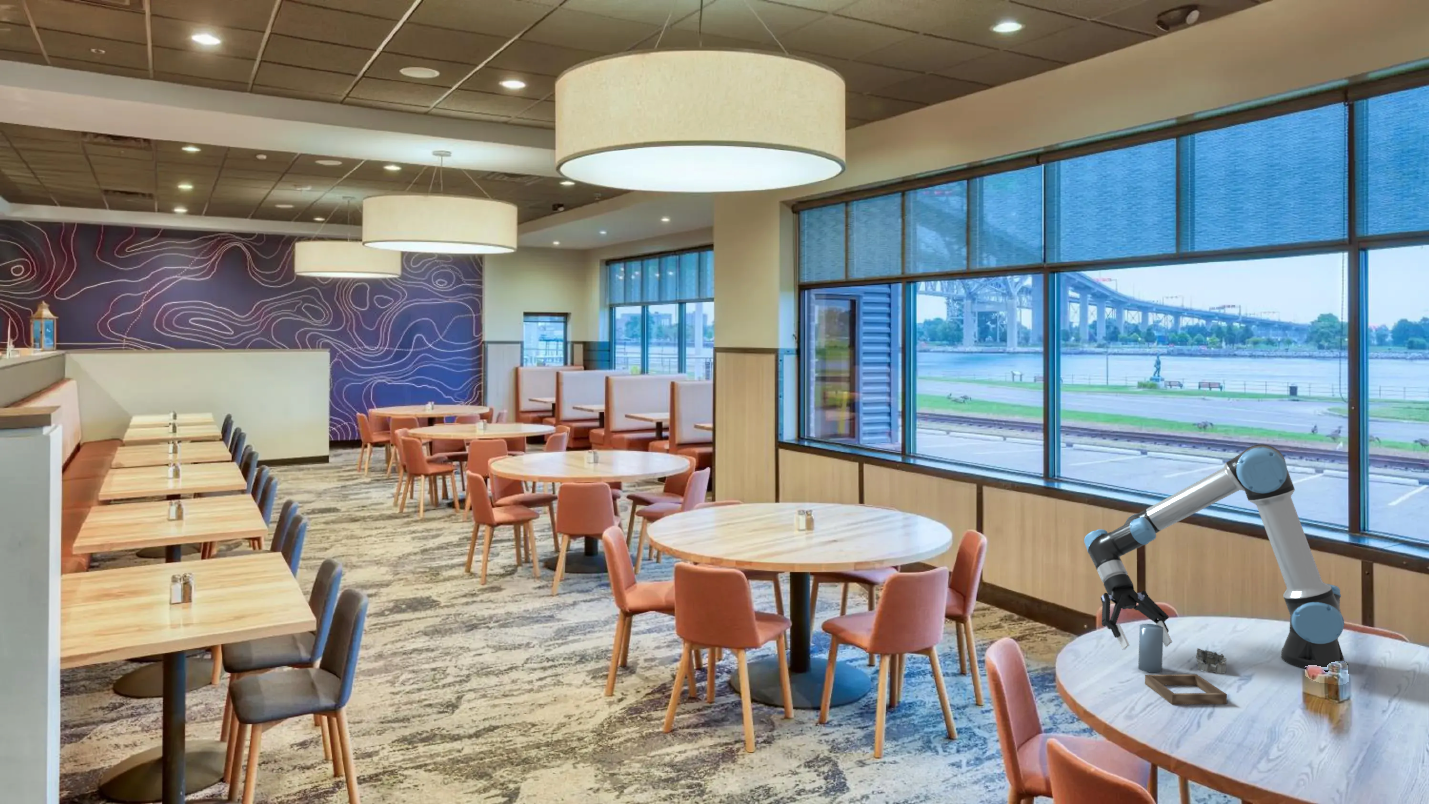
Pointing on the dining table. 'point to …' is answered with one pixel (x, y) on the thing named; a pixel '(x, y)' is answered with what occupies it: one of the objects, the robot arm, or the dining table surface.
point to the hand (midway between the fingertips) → (1147, 645)
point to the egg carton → (1210, 661)
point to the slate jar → (1150, 648)
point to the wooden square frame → (1210, 697)
